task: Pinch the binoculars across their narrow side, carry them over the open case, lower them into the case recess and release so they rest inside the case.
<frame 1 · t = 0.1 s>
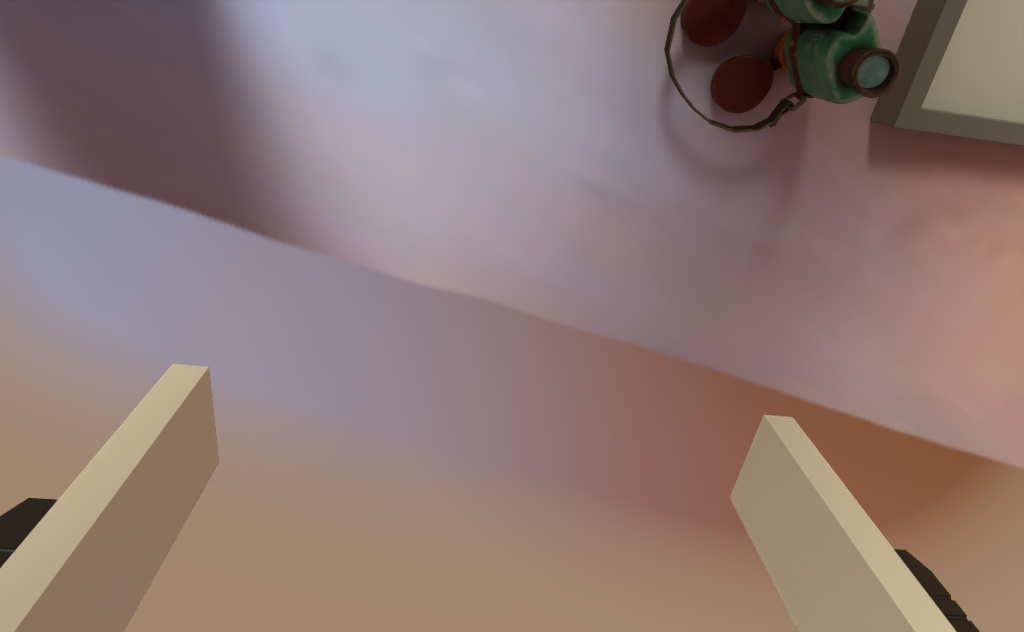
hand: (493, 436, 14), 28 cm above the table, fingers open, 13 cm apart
binoculars: (734, 43, 37), on the table
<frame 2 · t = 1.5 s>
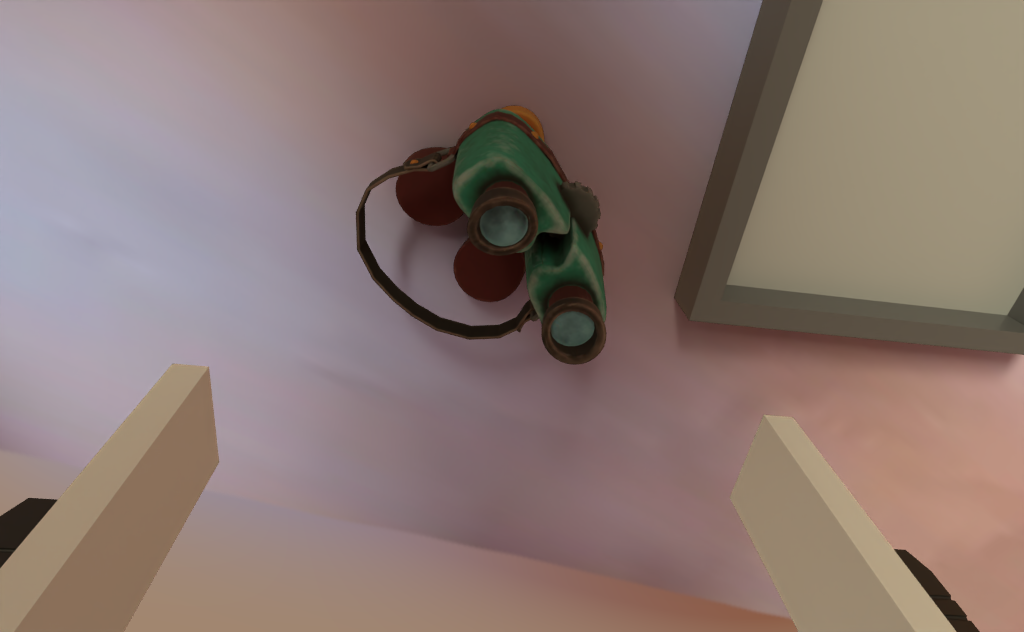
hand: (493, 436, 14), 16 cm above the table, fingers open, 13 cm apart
binoculars: (483, 212, 28), on the table
case: (937, 119, 27), on the table
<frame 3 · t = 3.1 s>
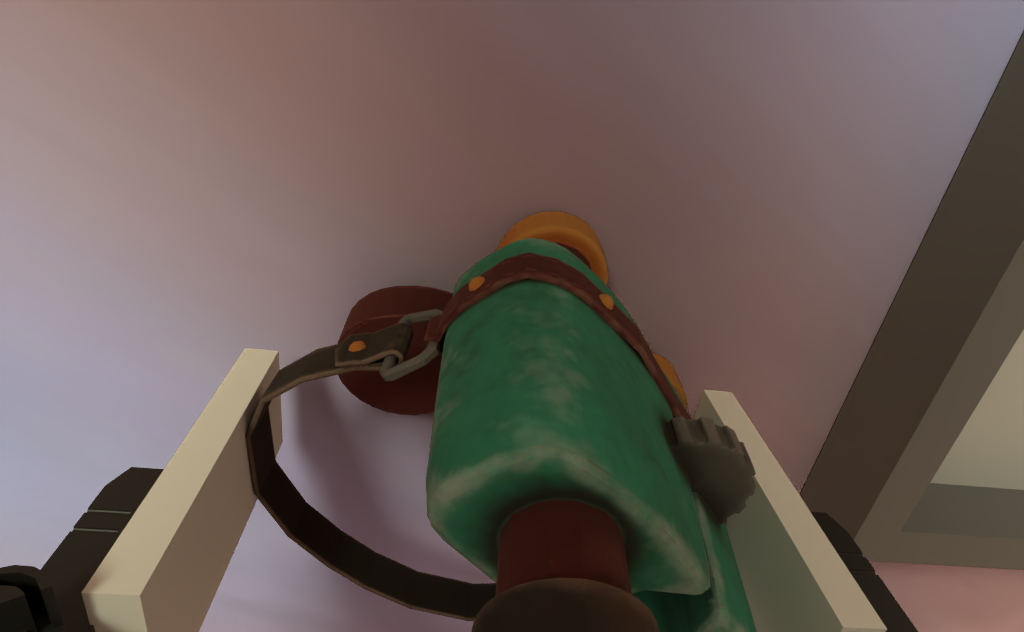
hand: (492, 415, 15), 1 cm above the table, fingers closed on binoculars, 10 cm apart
binoculars: (492, 378, 17), on the table, touching gripper
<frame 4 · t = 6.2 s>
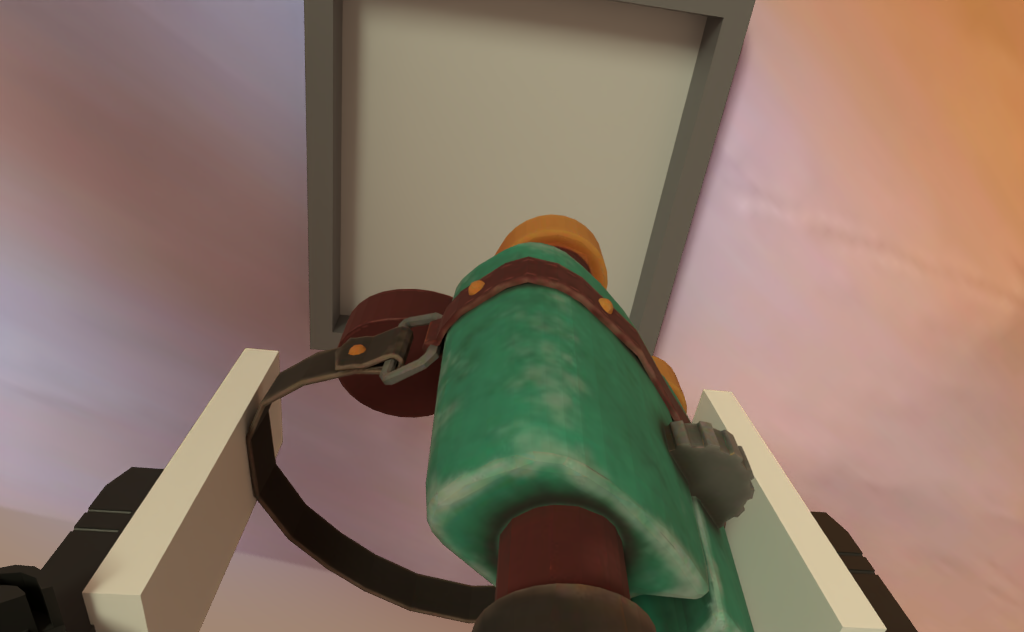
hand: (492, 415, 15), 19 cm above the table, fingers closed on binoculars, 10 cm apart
binoculars: (492, 381, 17), point 18 cm above the table, touching gripper
case: (505, 178, 32), on the table
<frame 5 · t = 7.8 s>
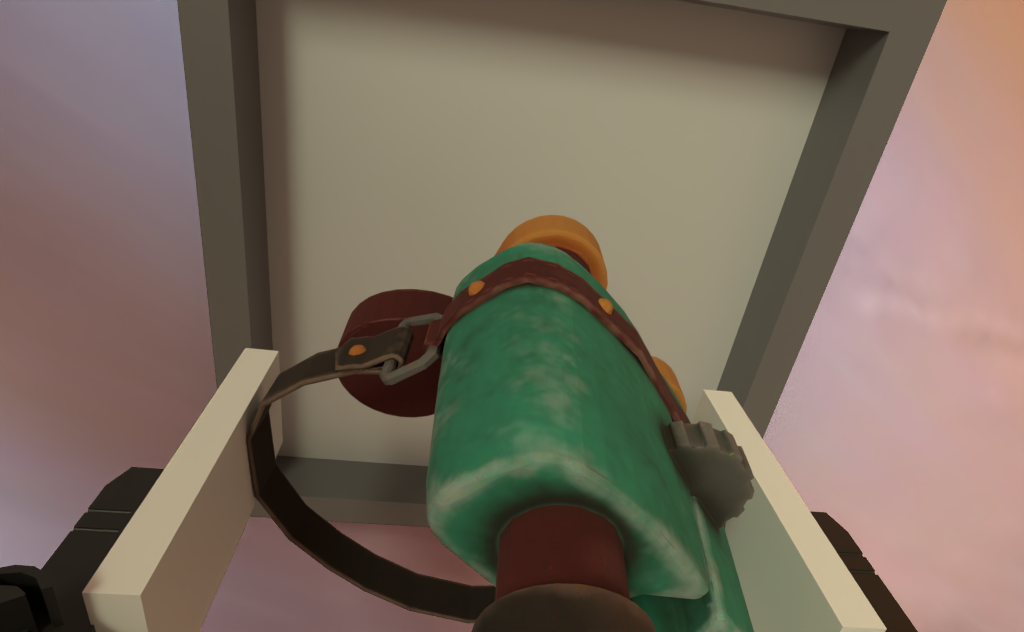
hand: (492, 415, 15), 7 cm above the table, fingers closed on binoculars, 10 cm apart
binoculars: (492, 381, 17), point 6 cm above the table, touching gripper
case: (518, 269, 21), on the table
when the fingers open (2 cm above the table, at t = 9.3 s): binoculars stays where it is, resting on case.
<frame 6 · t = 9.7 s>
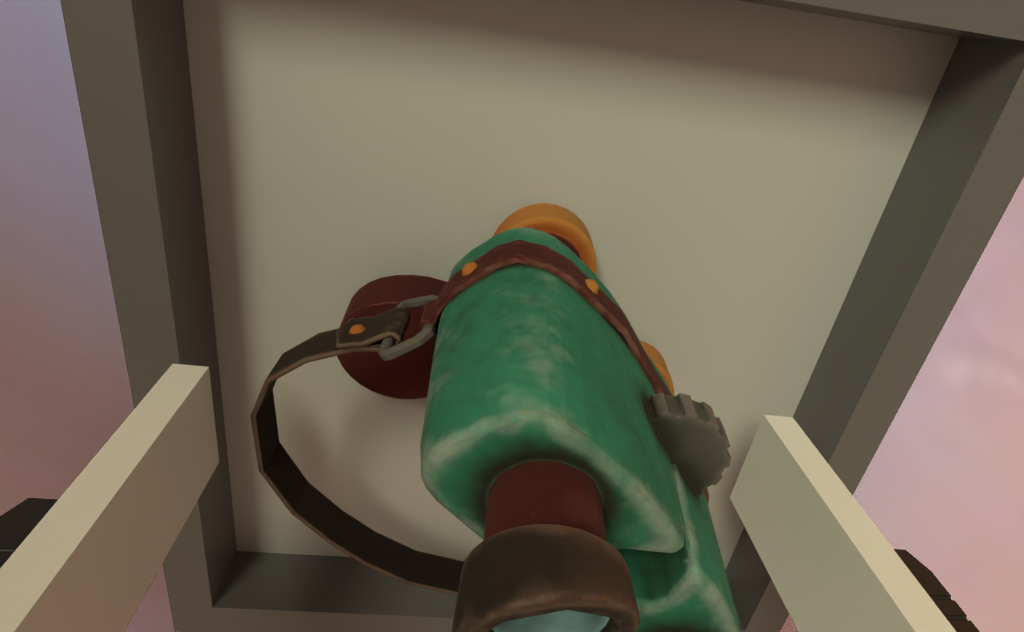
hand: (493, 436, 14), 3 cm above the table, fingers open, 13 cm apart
binoculars: (487, 365, 17), resting on case
case: (529, 335, 17), on the table
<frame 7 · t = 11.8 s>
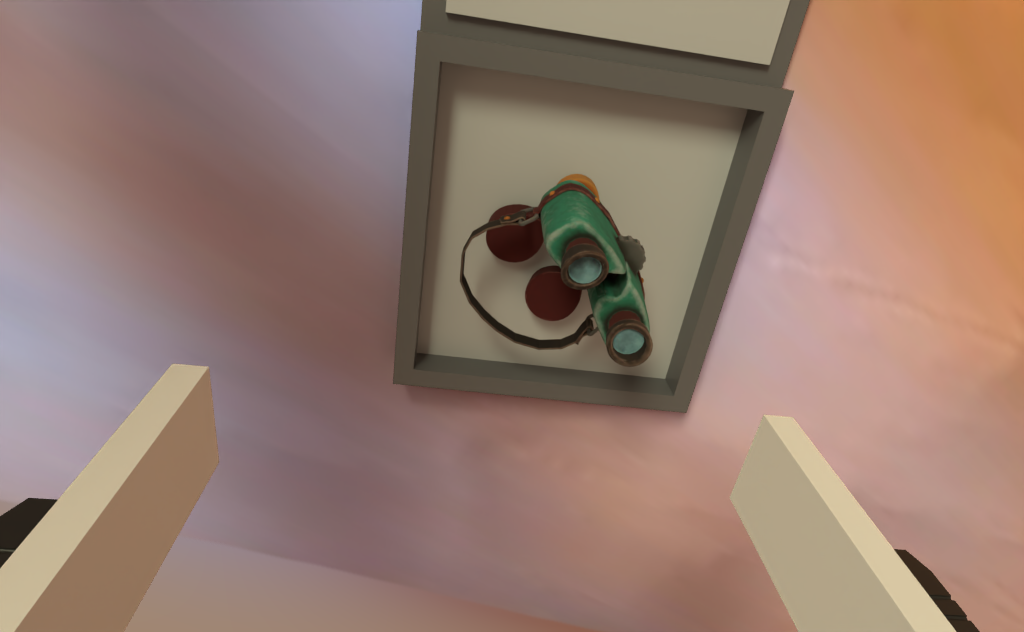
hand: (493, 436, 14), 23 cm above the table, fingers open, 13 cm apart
binoculars: (547, 252, 37), resting on case
case: (567, 237, 37), on the table
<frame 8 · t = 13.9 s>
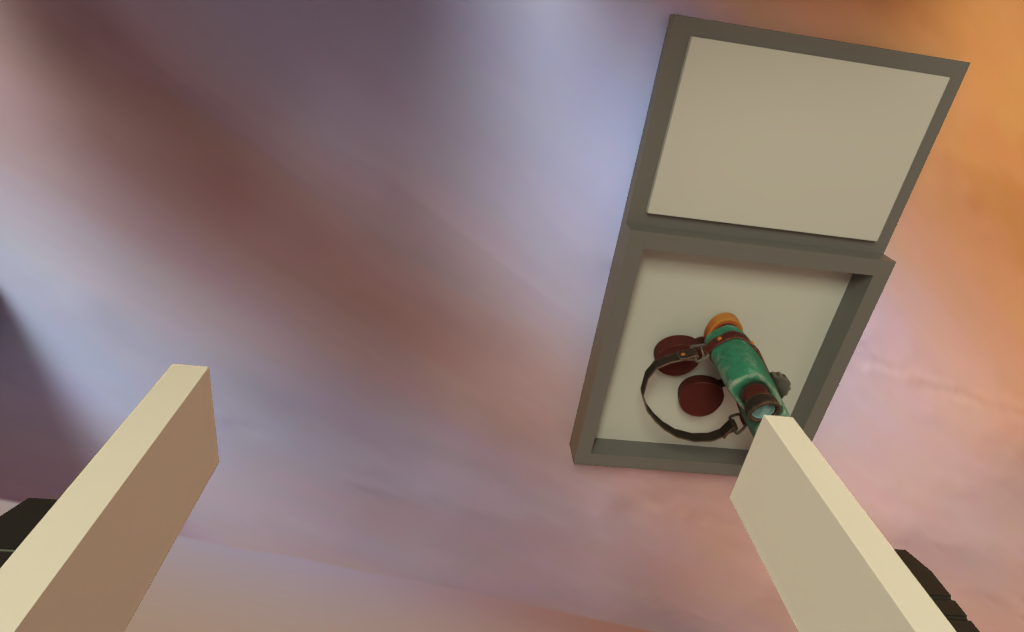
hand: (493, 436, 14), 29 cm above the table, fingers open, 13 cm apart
binoculars: (695, 364, 48), resting on case
case: (711, 353, 48), on the table
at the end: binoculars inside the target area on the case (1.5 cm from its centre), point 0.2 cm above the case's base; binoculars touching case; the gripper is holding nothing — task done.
